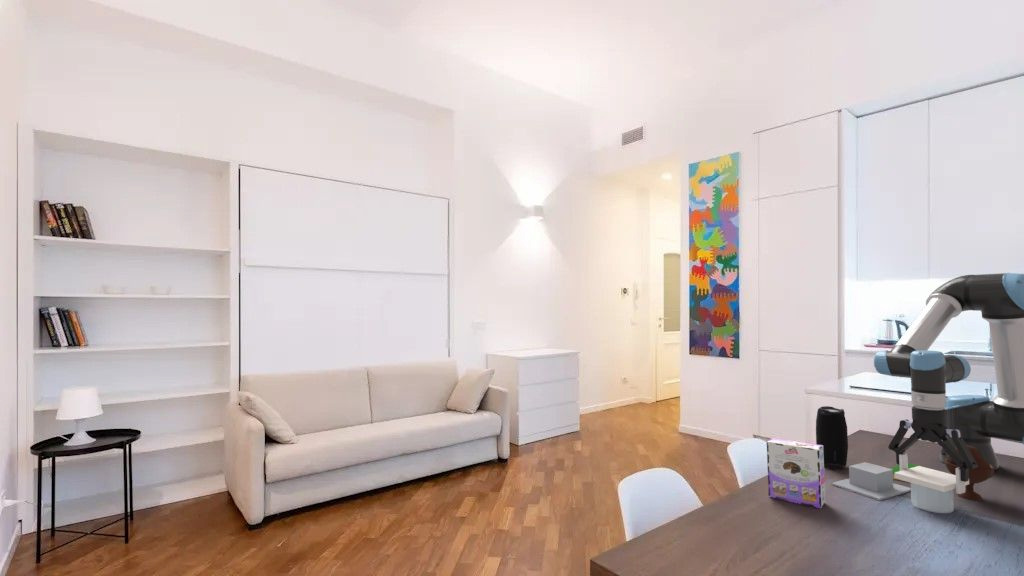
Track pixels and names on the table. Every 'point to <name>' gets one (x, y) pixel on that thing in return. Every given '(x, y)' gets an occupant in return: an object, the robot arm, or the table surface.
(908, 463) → the dish sponge
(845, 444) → the portable speaker
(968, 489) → the ice cream bowl
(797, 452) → the candy box
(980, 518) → the table surface
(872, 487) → the stand
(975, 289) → the robot arm
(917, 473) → the white flat square block
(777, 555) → the table surface
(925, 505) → the ceramic bowl
